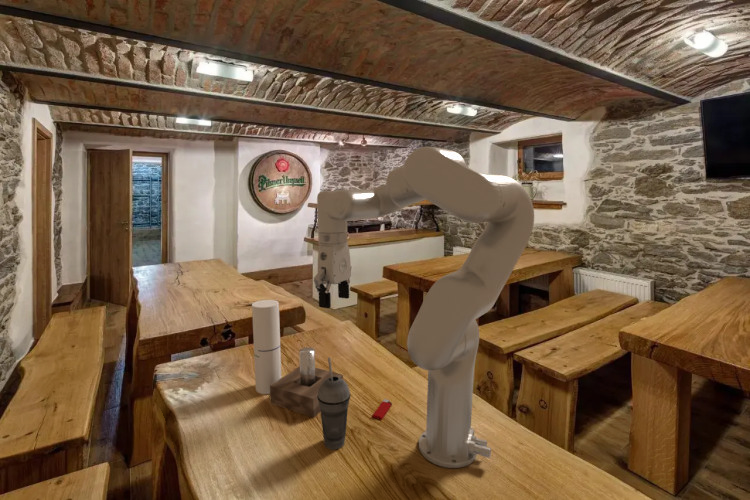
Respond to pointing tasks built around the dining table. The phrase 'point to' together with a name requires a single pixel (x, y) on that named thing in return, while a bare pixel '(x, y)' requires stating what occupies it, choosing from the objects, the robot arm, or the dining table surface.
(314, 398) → the walnut socket block
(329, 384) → the beverage cup
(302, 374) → the steel peg
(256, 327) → the cylindrical container
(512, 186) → the robot arm
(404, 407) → the dining table surface
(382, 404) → the lighter
